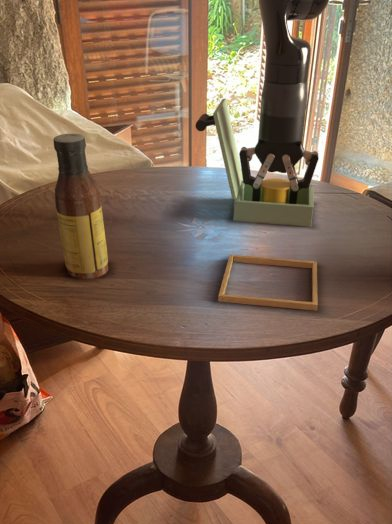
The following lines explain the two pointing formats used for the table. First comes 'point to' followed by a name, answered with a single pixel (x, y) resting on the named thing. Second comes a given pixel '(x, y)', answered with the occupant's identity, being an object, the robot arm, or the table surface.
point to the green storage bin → (274, 208)
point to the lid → (225, 143)
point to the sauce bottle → (79, 210)
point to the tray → (268, 301)
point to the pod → (275, 190)
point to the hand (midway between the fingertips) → (273, 207)
